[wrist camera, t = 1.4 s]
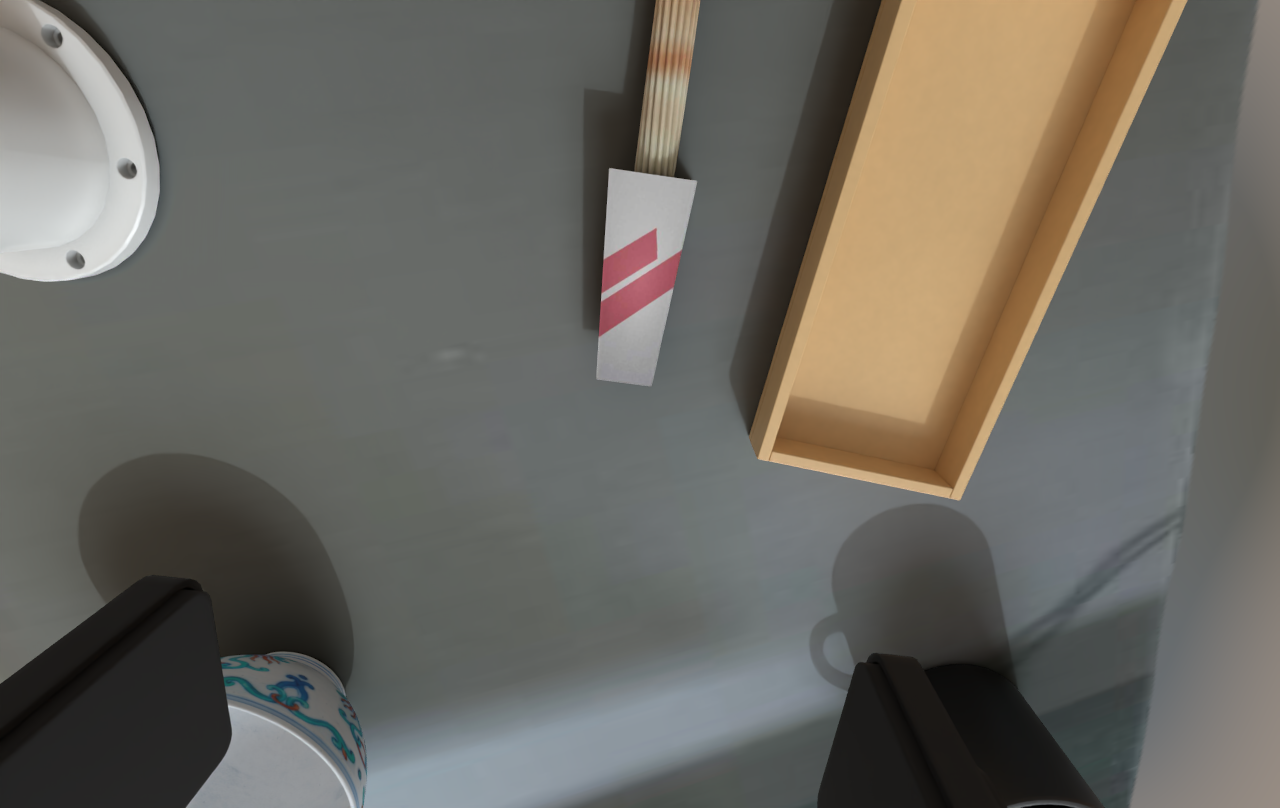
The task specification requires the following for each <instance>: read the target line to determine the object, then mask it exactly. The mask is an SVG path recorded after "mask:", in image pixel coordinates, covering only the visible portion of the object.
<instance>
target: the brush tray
mask: <svg viewBox="0 0 1280 808" xmlns="http://www.w3.org/2000/svg"><path fill="white" fill-rule="evenodd" d="M1186 2H1187V0H882V1H881V5H880V8H879V11H878V14H877V18H876V21H875V24H874V28H873V31H872V34H871V37H870V41H869V44H868V47H867V51H866V54H865V57H864V60H863V64H862V67H861V70H860V74H859V77H858V80H857V83H856V87H855V90H854V93H853V97H852V100H851V103H850V106H849V110H848V113H847V116H846V119H845V123H844V126H843V129H842V133H841V136H840V139H839V142H838V146H837V149H836V152H835V156H834V159H833V162H832V165H831V169H830V172H829V175H828V179H827V182H826V185H825V188H824V192H823V195H822V198H821V202H820V205H819V208H818V211H817V215H816V218H815V221H814V225H813V228H812V231H811V234H810V238H809V241H808V244H807V248H806V251H805V254H804V257H803V261H802V264H801V267H800V271H799V274H798V277H797V280H796V284H795V287H794V290H793V294H792V297H791V300H790V303H789V307H788V310H787V313H786V316H785V320H784V323H783V326H782V330H781V333H780V336H779V339H778V343H777V346H776V349H775V353H774V356H773V359H772V362H771V366H770V369H769V372H768V376H767V379H766V382H765V385H764V389H763V392H762V395H761V399H760V402H759V405H758V408H757V412H756V415H755V418H754V422H753V425H752V428H751V431H750V435H749V439H750V441H751V444H752V447H753V449H754V451H755V454H756V456H757V459H761V460H765V461H771V462H776V463H781V464H785V465H790V466H795V467H800V468H805V469H810V470H815V471H819V472H824V473H829V474H834V475H839V476H844V477H849V478H853V479H858V480H863V481H868V482H873V483H878V484H883V485H887V486H892V487H897V488H902V489H907V490H912V491H917V492H921V493H926V494H931V495H936V496H941V497H946V498H950V499H955V500H960V499H961V497H962V495H963V493H964V490H965V488H966V486H967V484H968V482H969V479H970V477H971V475H972V473H973V471H974V468H975V466H976V464H977V462H978V460H979V457H980V455H981V453H982V451H983V449H984V446H985V444H986V442H987V440H988V438H989V436H990V433H991V431H992V429H993V427H994V425H995V422H996V420H997V418H998V416H999V414H1000V411H1001V409H1002V407H1003V405H1004V403H1005V400H1006V398H1007V396H1008V394H1009V392H1010V389H1011V387H1012V385H1013V383H1014V381H1015V378H1016V376H1017V374H1018V372H1019V370H1020V367H1021V365H1022V363H1023V361H1024V359H1025V356H1026V354H1027V352H1028V350H1029V348H1030V345H1031V343H1032V341H1033V339H1034V337H1035V334H1036V332H1037V330H1038V328H1039V326H1040V323H1041V321H1042V319H1043V317H1044V315H1045V312H1046V310H1047V308H1048V306H1049V304H1050V301H1051V299H1052V297H1053V295H1054V293H1055V290H1056V288H1057V286H1058V284H1059V282H1060V279H1061V277H1062V275H1063V273H1064V271H1065V268H1066V266H1067V264H1068V262H1069V260H1070V257H1071V255H1072V253H1073V251H1074V249H1075V246H1076V244H1077V242H1078V240H1079V238H1080V235H1081V233H1082V231H1083V229H1084V227H1085V224H1086V222H1087V220H1088V218H1089V216H1090V213H1091V211H1092V209H1093V207H1094V205H1095V202H1096V200H1097V198H1098V196H1099V194H1100V191H1101V189H1102V187H1103V185H1104V183H1105V180H1106V178H1107V176H1108V174H1109V172H1110V169H1111V167H1112V165H1113V163H1114V161H1115V158H1116V156H1117V154H1118V152H1119V150H1120V147H1121V145H1122V143H1123V141H1124V139H1125V136H1126V134H1127V132H1128V130H1129V128H1130V125H1131V123H1132V121H1133V119H1134V117H1135V114H1136V112H1137V110H1138V108H1139V106H1140V103H1141V101H1142V99H1143V97H1144V95H1145V92H1146V90H1147V88H1148V86H1149V84H1150V81H1151V79H1152V77H1153V75H1154V73H1155V71H1156V68H1157V66H1158V64H1159V62H1160V60H1161V57H1162V55H1163V53H1164V51H1165V49H1166V46H1167V44H1168V42H1169V40H1170V38H1171V35H1172V33H1173V31H1174V29H1175V27H1176V24H1177V22H1178V20H1179V18H1180V16H1181V13H1182V11H1183V9H1184V7H1185V5H1186Z"/></svg>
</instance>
